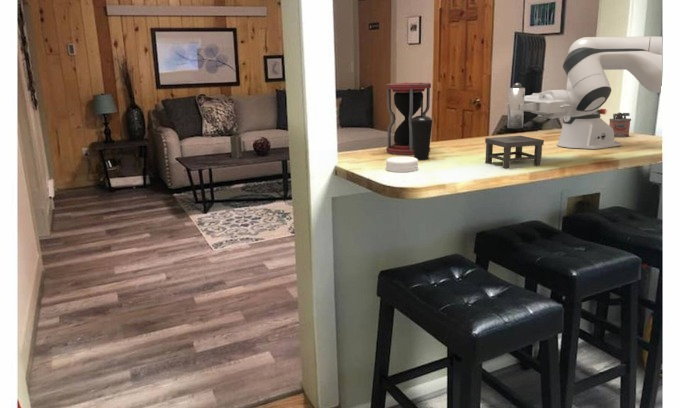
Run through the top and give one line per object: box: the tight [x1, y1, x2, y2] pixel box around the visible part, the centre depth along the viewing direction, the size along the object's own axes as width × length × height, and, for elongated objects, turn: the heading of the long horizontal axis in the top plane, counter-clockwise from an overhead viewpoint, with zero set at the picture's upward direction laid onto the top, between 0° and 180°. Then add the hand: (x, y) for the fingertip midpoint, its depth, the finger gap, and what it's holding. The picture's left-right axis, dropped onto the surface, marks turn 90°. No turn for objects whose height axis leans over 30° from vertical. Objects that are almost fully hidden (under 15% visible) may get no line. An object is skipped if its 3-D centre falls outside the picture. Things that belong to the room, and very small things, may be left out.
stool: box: [484, 135, 545, 170], centre depth 165 cm, size 13×12×8 cm
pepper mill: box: [507, 82, 526, 129], centre depth 161 cm, size 5×5×14 cm
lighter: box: [608, 112, 632, 139], centre depth 214 cm, size 8×3×10 cm, turn 80°
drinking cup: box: [410, 99, 434, 161], centre depth 178 cm, size 8×8×20 cm
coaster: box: [385, 156, 419, 173], centre depth 163 cm, size 10×10×4 cm
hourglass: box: [386, 82, 432, 156], centre depth 192 cm, size 16×16×25 cm
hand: (513, 106), depth 161 cm, fingers closed on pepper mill, 5 cm apart
